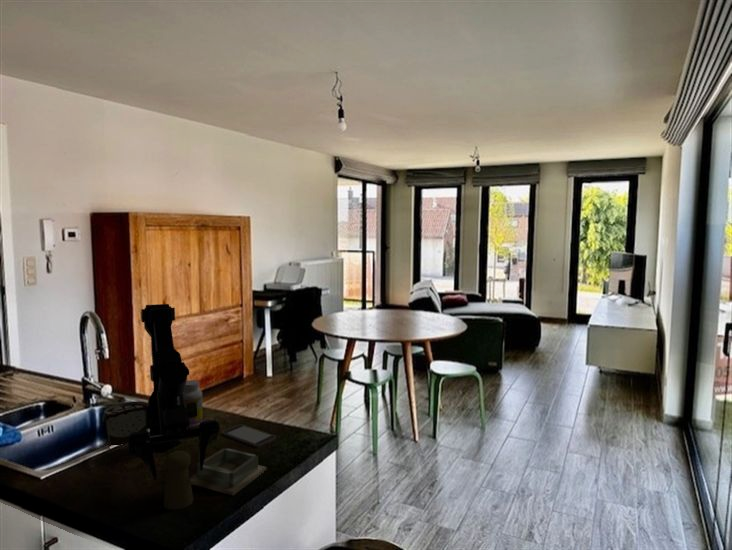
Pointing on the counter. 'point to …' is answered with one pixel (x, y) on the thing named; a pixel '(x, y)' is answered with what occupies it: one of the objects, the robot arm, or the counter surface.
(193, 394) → the supplement bottle
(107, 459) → the counter surface
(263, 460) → the counter surface
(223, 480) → the collar holder
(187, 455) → the cork
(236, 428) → the smartphone
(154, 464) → the robot arm
